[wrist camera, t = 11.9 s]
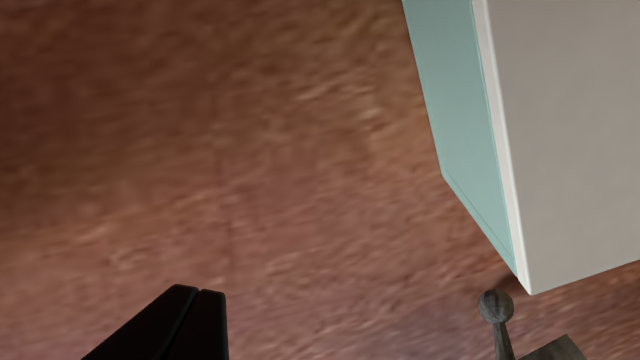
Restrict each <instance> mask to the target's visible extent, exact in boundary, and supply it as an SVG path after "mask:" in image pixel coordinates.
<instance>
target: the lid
mask: <svg viewBox="0 0 640 360" xmlns="http://www.w3.org/2000/svg"><path fill="white" fill-rule="evenodd" d="M472 6H473V12H474V18H475V24H476V30H477V36H478V42H479V48H480V54H481V60H482V66H483V72H484V78H485V84H486V90H487V96H488V102H489V108H490V114H491V120H492V126H493V131H494V137H495V143H496V149H497V155H498V161H499V167H500V173H501V179H502V185H503V191H504V197H505V203H506V209H507V215H508V221H509V227H510V233H511V239H512V245H513V251H514V257H515V263H516V268H517V274H518V280H519V281H520V283H521V284H522V285H523V287H524V288H525V290H526V291H527V292H528V294H529V295H535V294H538V293H541V292H544V291H547V290H550V289H553V288H556V287H559V286H562V285H565V284H568V283H571V282H574V281H577V280H580V279H583V278H586V277H589V276H592V275H594V274H597V273H600V272H603V271H606V270H609V269H612V268H615V267H618V266H621V265H624V264H627V263H630V262H633V261H636V260H639V259H640V0H472Z"/></svg>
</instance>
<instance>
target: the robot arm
mask: <svg viewBox="0 0 640 360" xmlns="http://www.w3.org/2000/svg"><path fill="white" fill-rule="evenodd" d="M81 360H229V350H228V333H227V316H226V299H225V295H224V293H222V292H217V291H212V290H207V289H202V290H201V291H199V289H198V288H196V287H192V286H186V285H181V284H175V285H173V286H171V287H170V288H169V289H167V290H166V291H165V292H164V293H163V294H161V295H160V296H159V297H158V298H156V299H155V300H154V301H153V302H151V303H150V304H149V305H148V306H146V307H145V308H144V309H143V310H142V311H140V312H139V313H138V314H137V315H135V316H134V317H133V318H132V319H130V320H129V321H128V322H127V323H125V324H124V325H123V326H122V327H121V328H119V329H118V330H117V331H116V332H114V333H113V334H112V335H111V336H109V337H108V338H107V339H106V340H104V341H103V342H102V343H101V344H100V345H98V346H97V347H96V348H95V349H93V350H92V351H91V352H90V353H88V354H87V355H86V356H85V357H83V358H82V359H81Z"/></svg>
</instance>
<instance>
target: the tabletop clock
mask: <svg viewBox="0 0 640 360" xmlns="http://www.w3.org/2000/svg"><path fill="white" fill-rule="evenodd" d="M478 307H479V313H480V315H481V317H482V318H483V319H484V320H486V321H487V322H489V323H490V324H493V325H494V337H495V349H496V360H515V357H514V353H513V350H512V346H511V343H510V339H509V336H508V333H507V329H506V326H505V323H506V322H507V321H508V320H510V319H511V317H512V316H513V313H514V306H513V301H512V299H511V297H510V296H509V295H508V294H506V293H505V292H504V291H502V290H498V289H492V290H488V291H486V292H485V293H484V294H483V295H481V297H480V298H479V301H478ZM519 360H587V359H586V357H585V356H584V355H583V354H582V352H581V351H580V350H579V349H578V348H577V346H576V345H575V344H574V343H573V342H572V340H571V339H570V338H569V337H568V336H567V334H565V335H563V336H561V337H559V338H558V339H556V340H554V341H552V342H550V343H548V344H546V345H545V346H543V347H541V348H539V349H537V350H535V351H533V352H532V353H530V354H528V355H526V356H524V357H522V358H520V359H519Z"/></svg>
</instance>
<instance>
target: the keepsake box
mask: <svg viewBox="0 0 640 360" xmlns="http://www.w3.org/2000/svg"><path fill="white" fill-rule="evenodd" d="M402 4H403V9H404V13H405V17H406V21H407V26H408V30H409V34H410V39H411V43H412V47H413V52H414V56H415V60H416V64H417V69H418V73H419V77H420V82H421V86H422V90H423V95H424V99H425V103H426V107H427V112H428V116H429V120H430V125H431V129H432V133H433V138H434V142H435V146H436V150H437V155H438V159H439V163H440V168H441V172H442V176H443V177H444V179H445V180H446V181H447V183H448V184H449V186H450V187H451V188H452V190H453V191H454V192H455V194H456V195H457V197H458V198H459V199H460V201H461V202H462V203H463V205H464V206H465V208H466V209H467V210H468V212H469V213H470V214H471V216H472V217H473V218H474V220H475V221H476V223H477V224H478V225H479V227H480V228H481V229H482V231H483V232H484V233H485V235H486V236H487V238H488V239H489V240H490V242H491V243H492V244H493V246H494V247H495V249H496V250H497V251H498V253H499V254H500V255H501V257H502V258H503V259H504V261H505V262H506V264H507V265H508V266H509V268H510V269H511V270H512V272H513V273H514V275H515V276H516V277H518V274H517V268H516V263H515V257H514V251H513V245H512V239H511V233H510V227H509V221H508V215H507V209H506V203H505V197H504V191H503V185H502V179H501V173H500V167H499V161H498V155H497V149H496V143H495V137H494V131H493V126H492V120H491V114H490V108H489V102H488V96H487V90H486V84H485V78H484V72H483V66H482V60H481V54H480V48H479V42H478V36H477V30H476V24H475V18H474V12H473V6H472V0H402Z"/></svg>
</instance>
